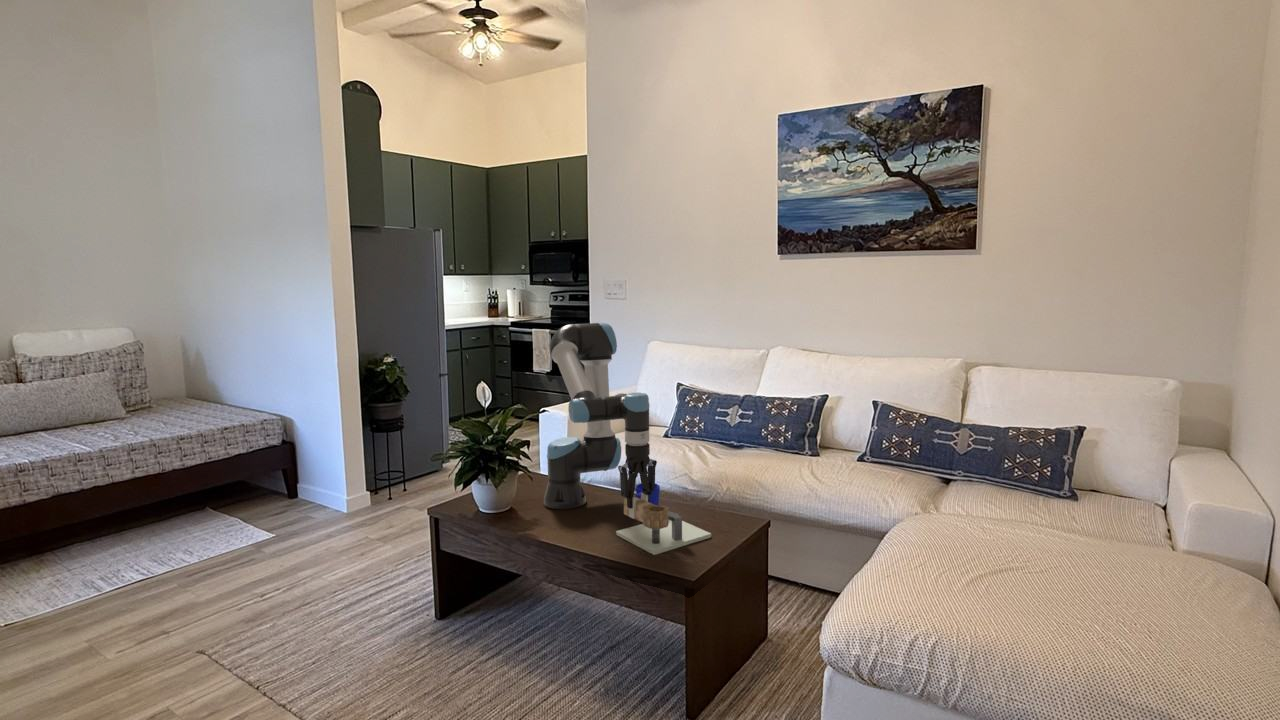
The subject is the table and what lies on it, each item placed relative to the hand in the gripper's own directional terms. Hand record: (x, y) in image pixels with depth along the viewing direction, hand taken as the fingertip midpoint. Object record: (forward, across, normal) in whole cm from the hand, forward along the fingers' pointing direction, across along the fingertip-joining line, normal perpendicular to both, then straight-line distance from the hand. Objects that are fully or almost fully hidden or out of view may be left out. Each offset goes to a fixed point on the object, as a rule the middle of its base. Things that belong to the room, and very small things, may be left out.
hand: (638, 515), depth 218 cm
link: (0, 0, -4) cm, 4 cm away
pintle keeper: (+7, +4, -8) cm, 12 cm away
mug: (+7, +13, +14) cm, 21 cm away
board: (+7, +7, -4) cm, 11 cm away
